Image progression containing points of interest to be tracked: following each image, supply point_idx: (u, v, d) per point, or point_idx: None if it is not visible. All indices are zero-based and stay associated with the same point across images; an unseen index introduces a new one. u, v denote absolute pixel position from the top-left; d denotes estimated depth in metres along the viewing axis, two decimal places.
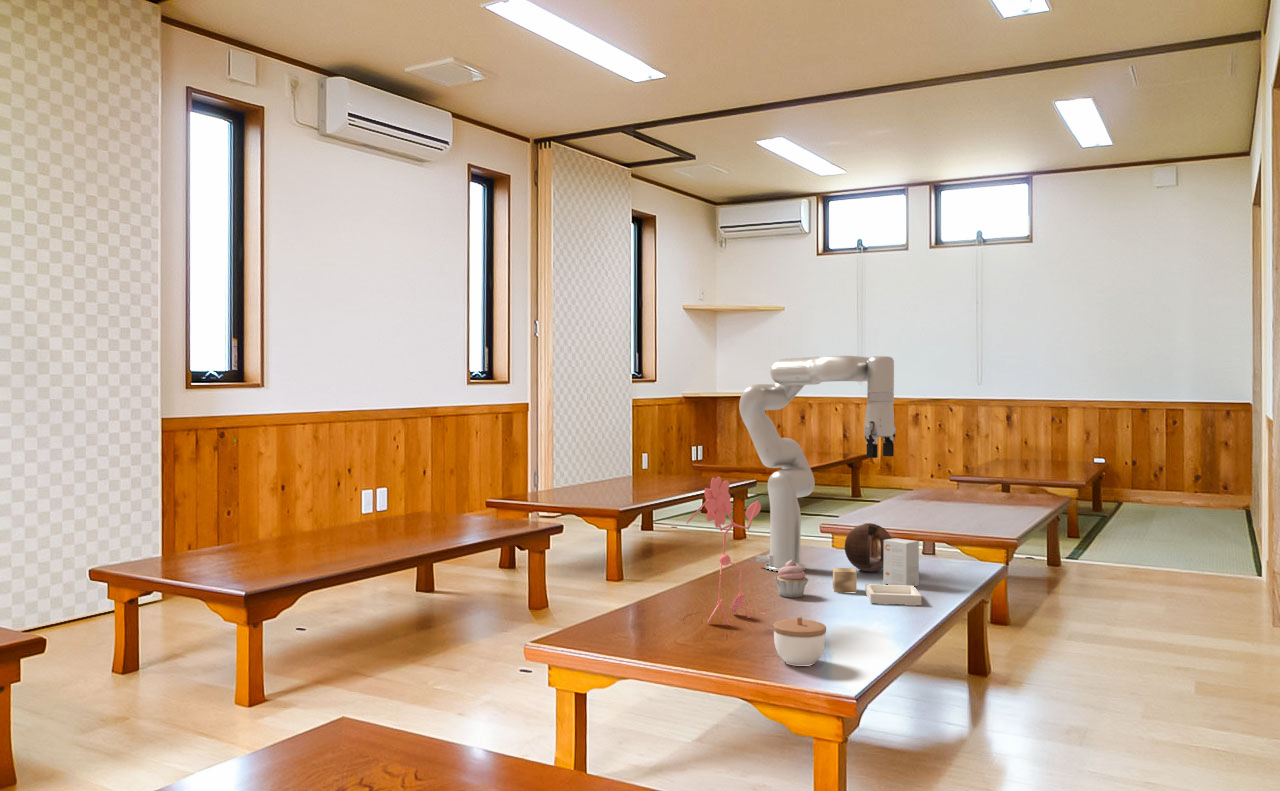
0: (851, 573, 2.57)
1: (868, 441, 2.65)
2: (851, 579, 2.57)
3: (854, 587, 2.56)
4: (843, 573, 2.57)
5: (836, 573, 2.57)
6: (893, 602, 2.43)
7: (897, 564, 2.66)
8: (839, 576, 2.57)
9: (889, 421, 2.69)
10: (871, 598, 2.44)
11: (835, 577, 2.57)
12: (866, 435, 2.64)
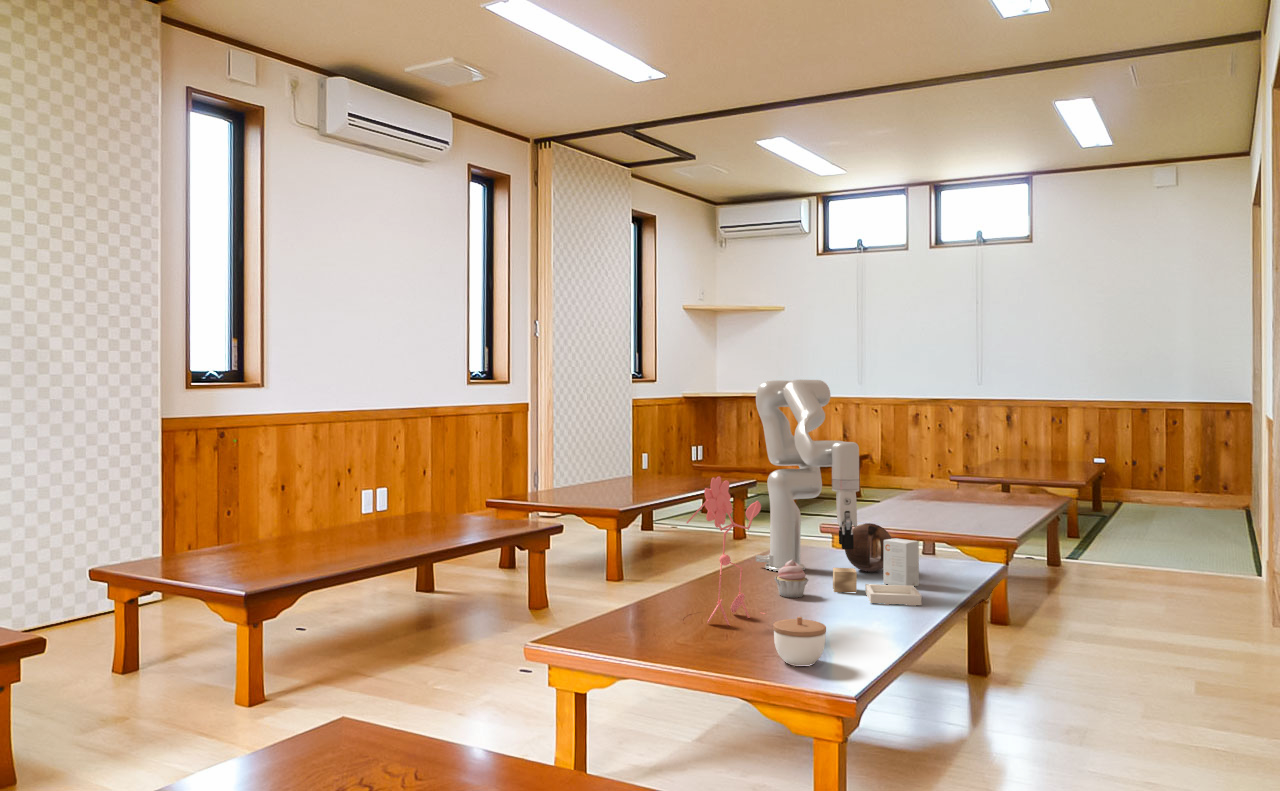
0: (851, 573, 2.57)
1: None
2: (851, 579, 2.57)
3: (854, 587, 2.56)
4: (843, 573, 2.57)
5: (836, 573, 2.57)
6: (893, 602, 2.43)
7: (897, 564, 2.66)
8: (839, 576, 2.57)
9: (837, 509, 2.59)
10: (871, 598, 2.44)
11: (835, 577, 2.57)
12: None
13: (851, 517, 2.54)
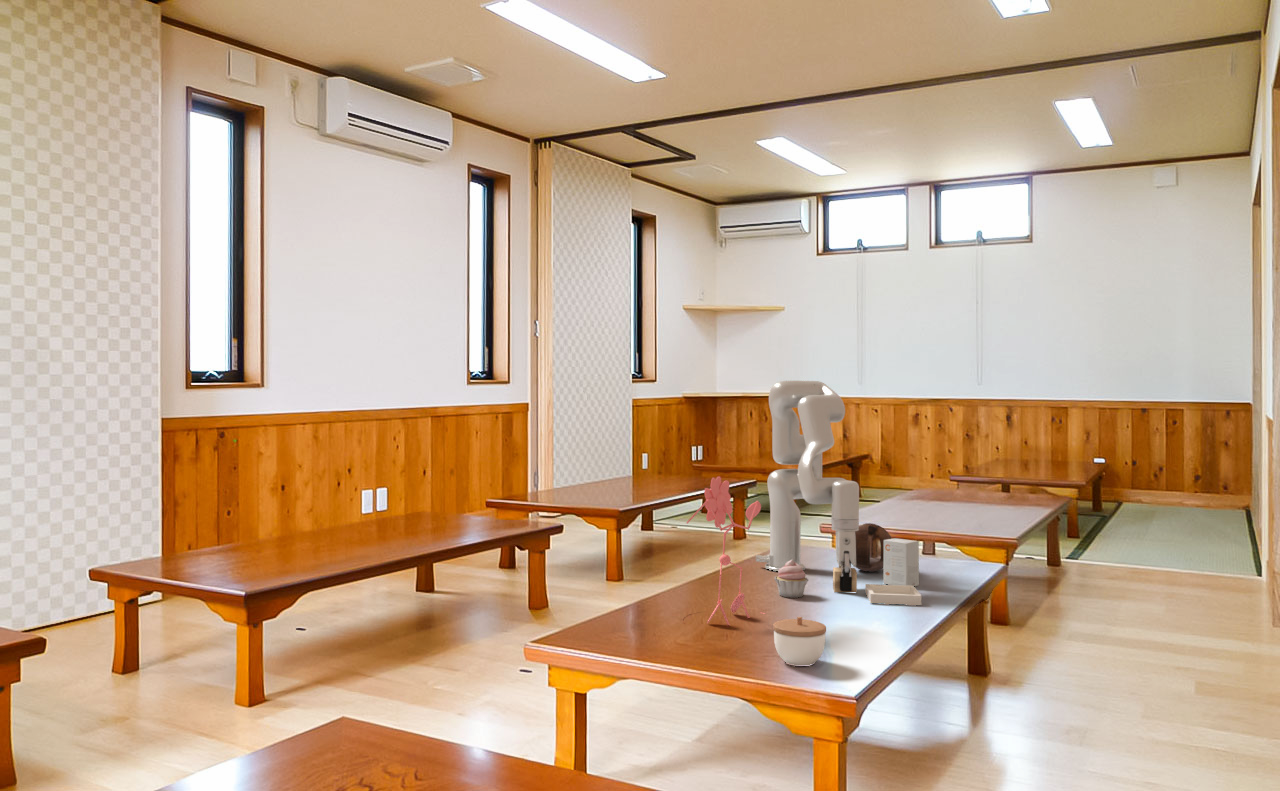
0: (851, 573, 2.57)
1: None
2: None
3: (854, 587, 2.56)
4: None
5: (836, 573, 2.57)
6: (893, 602, 2.43)
7: (897, 564, 2.66)
8: (839, 576, 2.57)
9: (836, 548, 2.59)
10: (871, 598, 2.44)
11: (835, 577, 2.57)
12: None
13: (850, 557, 2.55)
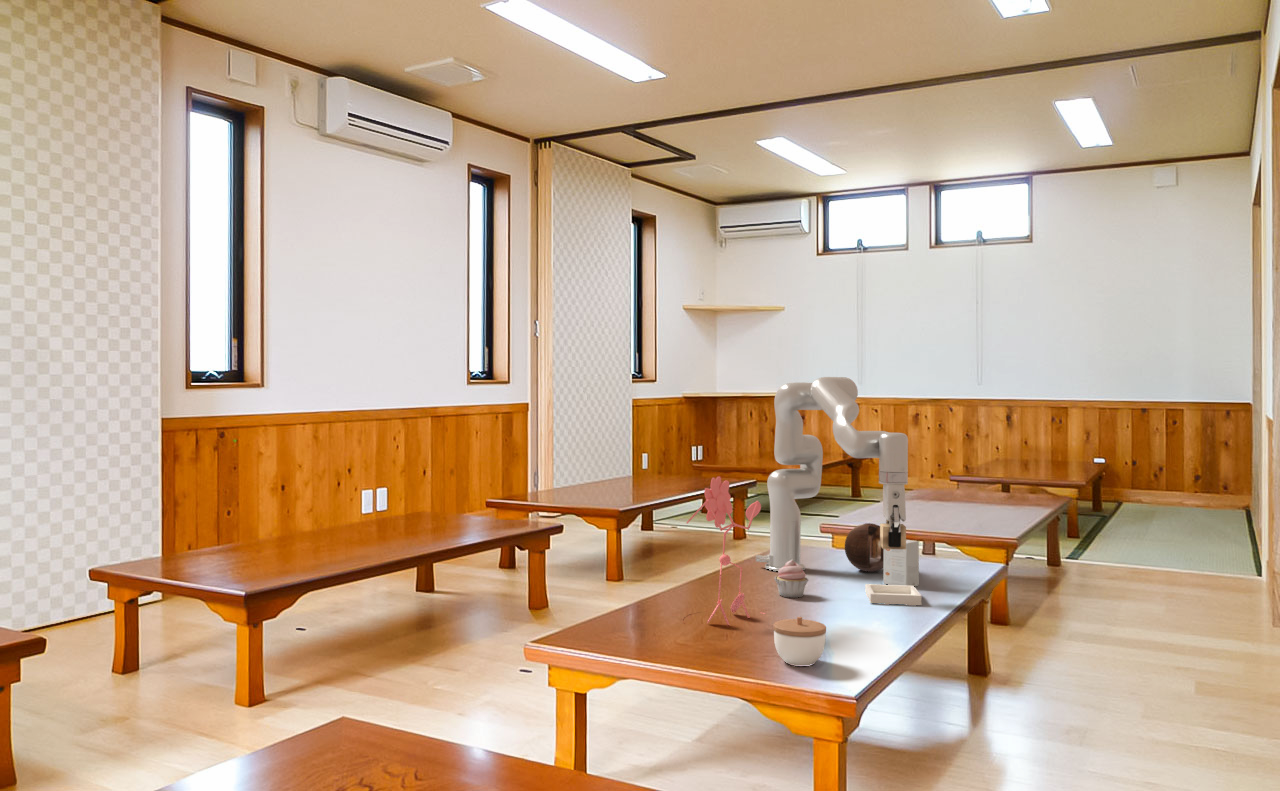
0: None
1: None
2: None
3: (903, 542, 2.46)
4: None
5: (884, 528, 2.47)
6: (893, 602, 2.43)
7: (897, 564, 2.66)
8: (888, 531, 2.46)
9: (884, 503, 2.49)
10: (871, 598, 2.44)
11: (883, 532, 2.47)
12: None
13: (900, 511, 2.44)
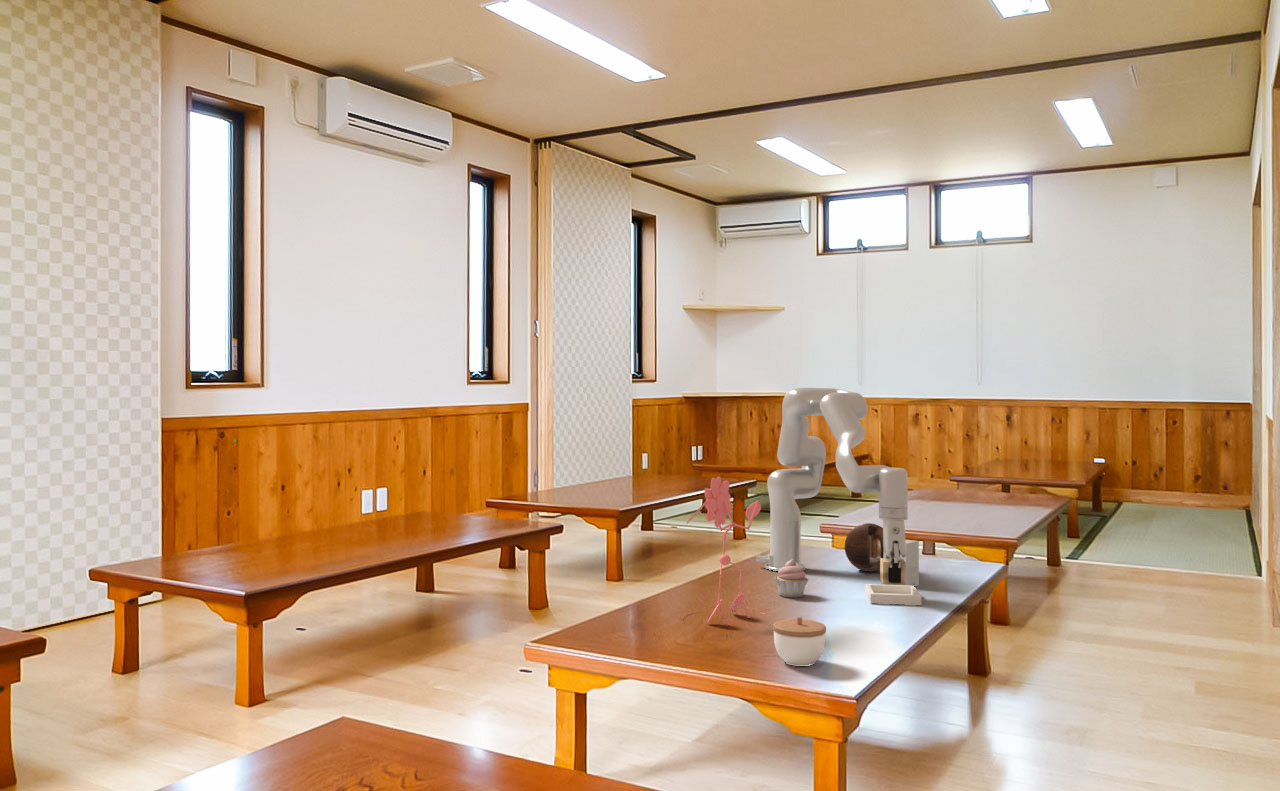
0: (900, 563, 2.46)
1: None
2: (901, 569, 2.46)
3: (903, 578, 2.46)
4: None
5: (885, 563, 2.47)
6: (893, 602, 2.43)
7: None
8: None
9: (884, 538, 2.49)
10: (871, 598, 2.44)
11: (883, 568, 2.47)
12: None
13: (899, 547, 2.44)
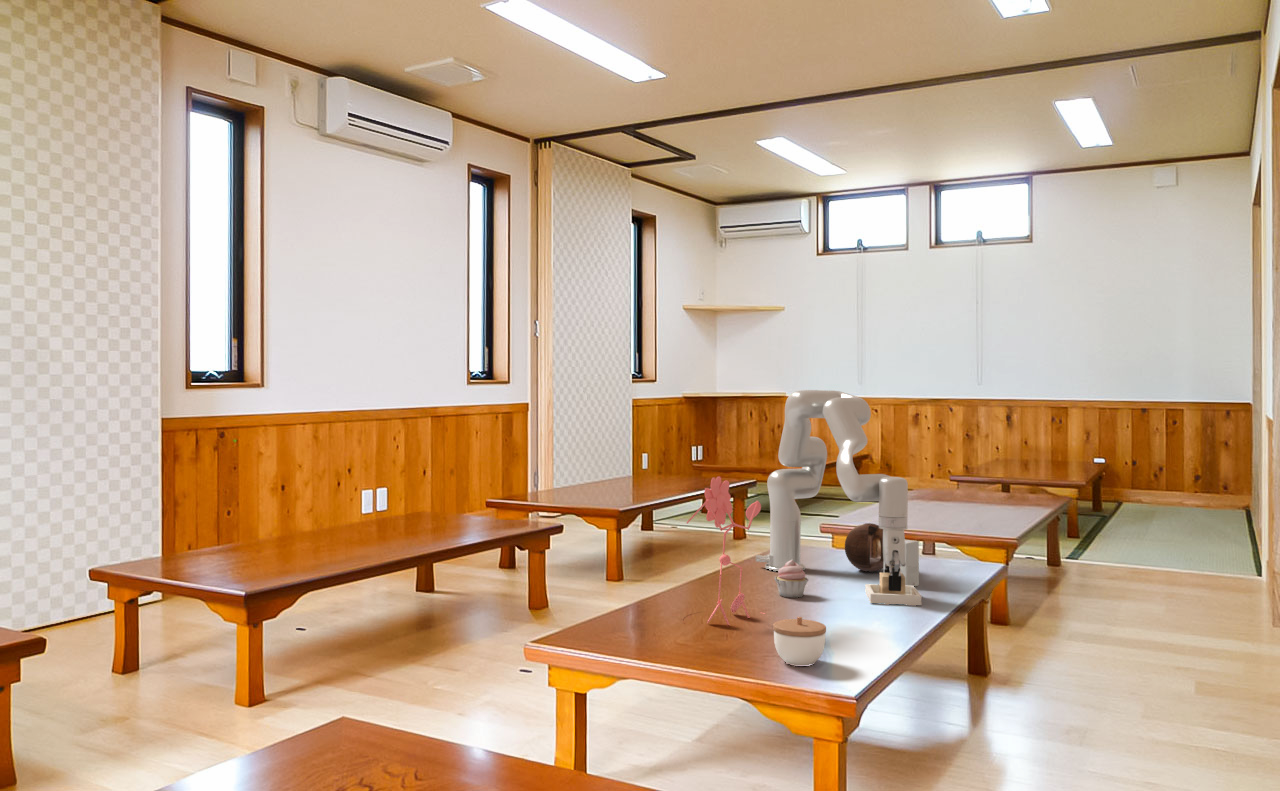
0: None
1: None
2: None
3: (903, 593, 2.46)
4: None
5: (884, 578, 2.47)
6: (893, 602, 2.43)
7: None
8: (887, 581, 2.47)
9: (884, 547, 2.49)
10: (871, 598, 2.44)
11: (883, 582, 2.47)
12: None
13: (899, 557, 2.44)
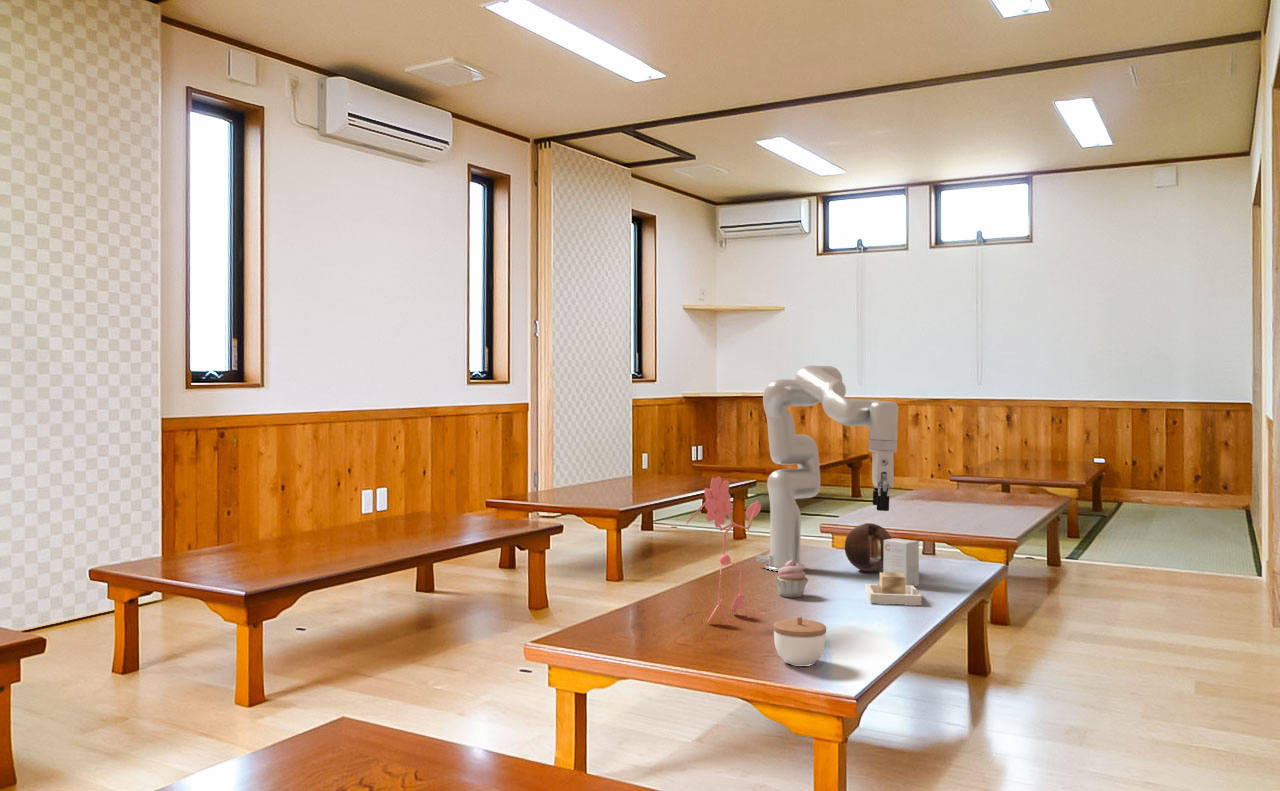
0: (900, 578, 2.46)
1: None
2: (900, 584, 2.46)
3: (903, 593, 2.46)
4: (891, 578, 2.46)
5: (884, 578, 2.47)
6: (893, 602, 2.43)
7: (897, 564, 2.66)
8: (887, 581, 2.47)
9: (873, 470, 2.53)
10: (871, 598, 2.44)
11: (883, 582, 2.47)
12: None
13: (888, 478, 2.49)
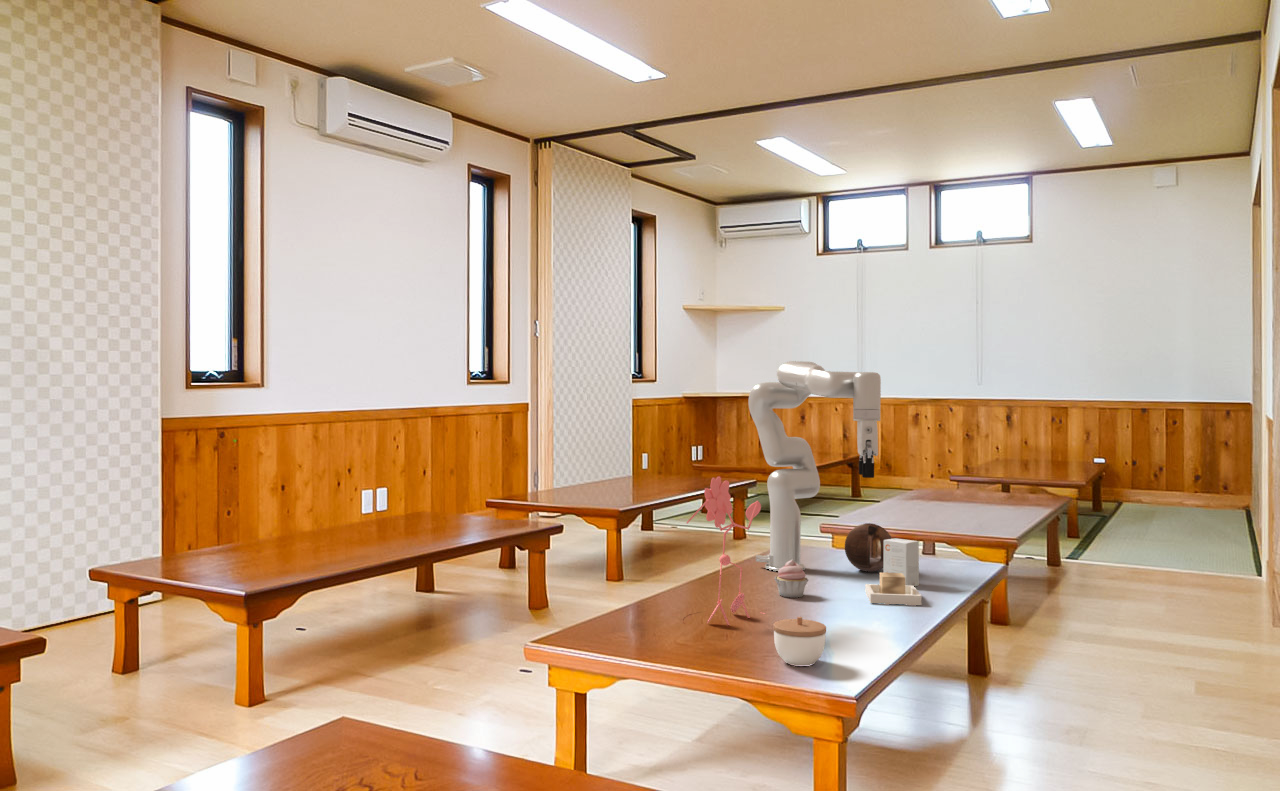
0: (900, 578, 2.46)
1: None
2: (900, 584, 2.46)
3: (903, 593, 2.46)
4: (891, 578, 2.46)
5: (884, 578, 2.47)
6: (893, 602, 2.43)
7: (897, 564, 2.66)
8: (887, 581, 2.47)
9: (858, 439, 2.60)
10: (871, 598, 2.44)
11: (883, 582, 2.47)
12: None
13: (872, 446, 2.56)
